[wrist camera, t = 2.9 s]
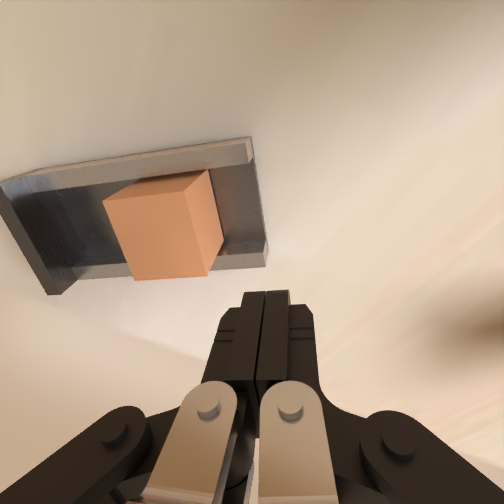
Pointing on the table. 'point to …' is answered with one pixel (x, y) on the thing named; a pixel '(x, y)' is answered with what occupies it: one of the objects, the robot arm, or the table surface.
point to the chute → (98, 223)
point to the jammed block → (167, 225)
